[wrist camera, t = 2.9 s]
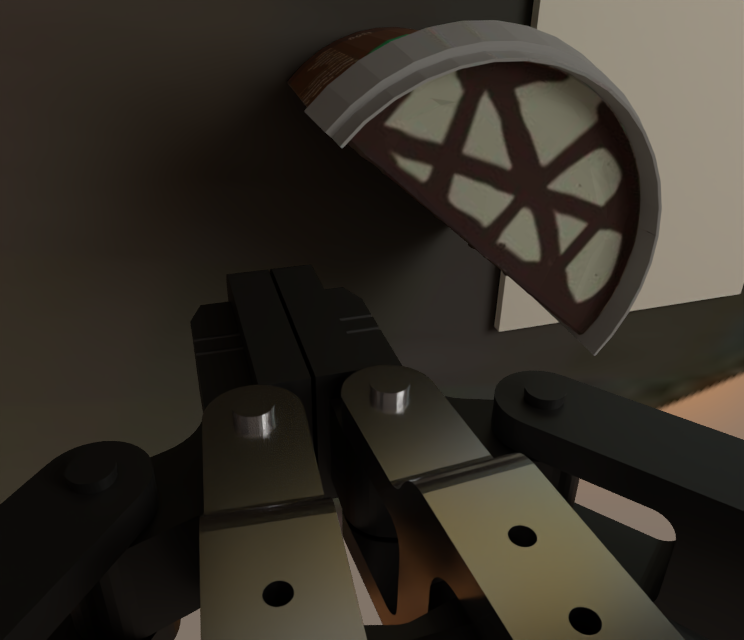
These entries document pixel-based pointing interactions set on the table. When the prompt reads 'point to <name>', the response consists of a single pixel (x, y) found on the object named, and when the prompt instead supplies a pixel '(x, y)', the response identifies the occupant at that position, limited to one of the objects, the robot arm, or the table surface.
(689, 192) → the mat
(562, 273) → the food container
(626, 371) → the table surface
